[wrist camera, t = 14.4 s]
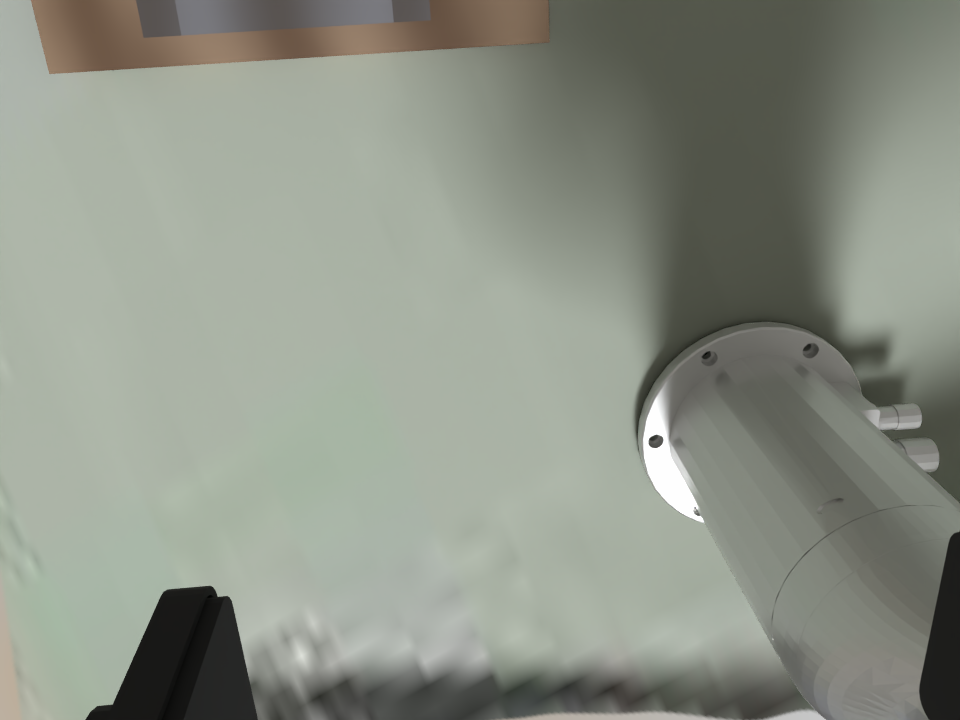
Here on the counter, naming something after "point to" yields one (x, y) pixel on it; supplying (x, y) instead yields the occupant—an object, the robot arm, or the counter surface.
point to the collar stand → (271, 29)
